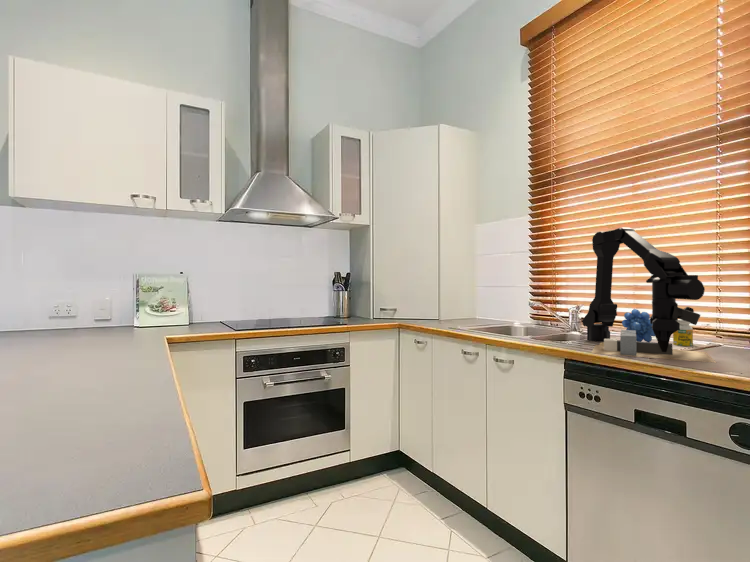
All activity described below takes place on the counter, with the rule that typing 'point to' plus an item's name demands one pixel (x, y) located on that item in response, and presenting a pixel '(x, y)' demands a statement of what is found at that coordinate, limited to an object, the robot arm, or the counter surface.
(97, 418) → the counter surface
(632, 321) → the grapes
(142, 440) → the counter surface
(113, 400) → the counter surface
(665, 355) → the mounting board
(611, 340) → the grey and white bar
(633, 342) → the grey boxy piece
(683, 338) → the supplement bottle
